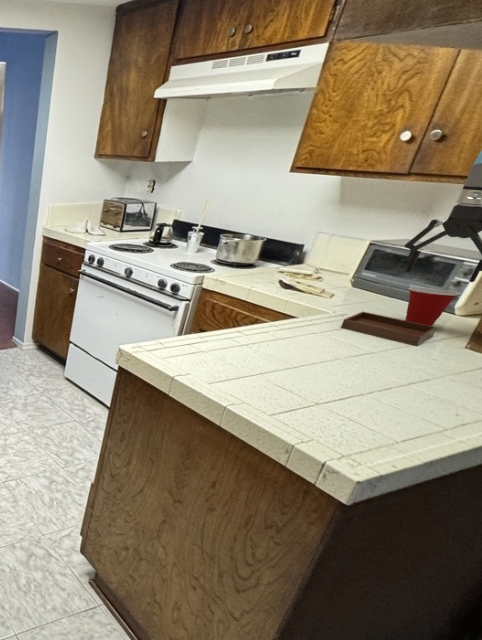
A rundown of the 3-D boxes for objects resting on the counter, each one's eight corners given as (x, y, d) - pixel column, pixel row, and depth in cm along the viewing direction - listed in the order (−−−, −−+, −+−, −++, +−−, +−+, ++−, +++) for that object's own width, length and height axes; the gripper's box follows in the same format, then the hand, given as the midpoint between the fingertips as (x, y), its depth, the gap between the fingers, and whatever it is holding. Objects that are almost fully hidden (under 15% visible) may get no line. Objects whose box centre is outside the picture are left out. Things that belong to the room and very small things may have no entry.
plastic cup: (419, 320, 155) (436, 285, 151) (451, 332, 145) (470, 294, 141) (384, 318, 156) (399, 283, 152) (413, 330, 146) (431, 293, 142)
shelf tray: (432, 336, 141) (437, 327, 140) (416, 346, 134) (421, 337, 132) (359, 319, 155) (362, 311, 154) (340, 327, 147) (343, 319, 146)
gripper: (410, 201, 144) (381, 268, 153) (539, 211, 125) (498, 287, 133) (418, 200, 148) (389, 266, 156) (544, 209, 129) (503, 284, 137)
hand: (439, 276), depth 145 cm, fingers open, 13 cm apart
